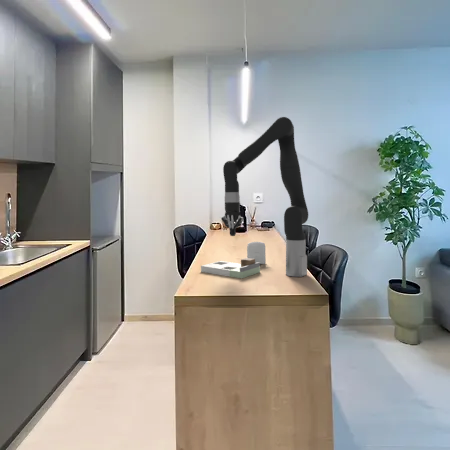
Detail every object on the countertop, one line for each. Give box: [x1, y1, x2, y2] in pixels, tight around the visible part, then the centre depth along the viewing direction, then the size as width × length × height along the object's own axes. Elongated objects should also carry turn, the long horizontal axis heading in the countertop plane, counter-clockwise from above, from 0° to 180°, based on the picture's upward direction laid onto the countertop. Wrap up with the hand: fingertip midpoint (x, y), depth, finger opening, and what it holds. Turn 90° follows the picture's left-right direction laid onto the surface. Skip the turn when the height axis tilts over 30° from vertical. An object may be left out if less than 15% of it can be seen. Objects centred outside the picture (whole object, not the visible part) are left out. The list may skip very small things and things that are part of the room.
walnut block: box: [240, 257, 255, 267], centre depth 186 cm, size 5×5×4 cm
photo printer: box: [246, 241, 267, 265], centre depth 209 cm, size 10×4×12 cm, turn 96°
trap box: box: [200, 260, 261, 279], centre depth 189 cm, size 25×16×5 cm, turn 53°
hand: (232, 235), depth 190 cm, fingers closed
